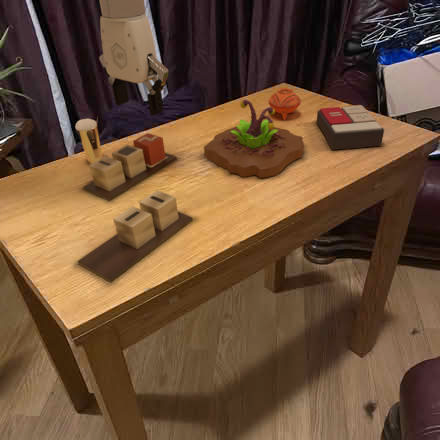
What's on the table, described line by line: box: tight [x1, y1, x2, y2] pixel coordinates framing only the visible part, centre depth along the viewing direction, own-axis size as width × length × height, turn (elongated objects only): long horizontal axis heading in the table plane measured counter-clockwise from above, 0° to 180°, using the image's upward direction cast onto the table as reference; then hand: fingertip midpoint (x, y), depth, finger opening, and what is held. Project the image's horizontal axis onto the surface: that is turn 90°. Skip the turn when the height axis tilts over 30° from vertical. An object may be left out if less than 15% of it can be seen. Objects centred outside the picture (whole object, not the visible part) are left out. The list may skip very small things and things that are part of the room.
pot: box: [268, 87, 302, 121], centre depth 106 cm, size 8×8×7 cm
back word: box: [82, 144, 178, 202], centre depth 89 cm, size 8×20×5 cm, turn 143°
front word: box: [77, 189, 194, 283], centre depth 72 cm, size 8×20×5 cm, turn 143°
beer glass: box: [75, 117, 104, 164], centre depth 92 cm, size 4×5×10 cm
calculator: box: [316, 104, 385, 151], centre depth 97 cm, size 11×4×15 cm
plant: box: [203, 99, 305, 179], centre depth 90 cm, size 20×20×11 cm
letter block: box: [132, 132, 166, 166], centre depth 92 cm, size 4×4×5 cm
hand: (139, 108), depth 86 cm, fingers open, 9 cm apart
